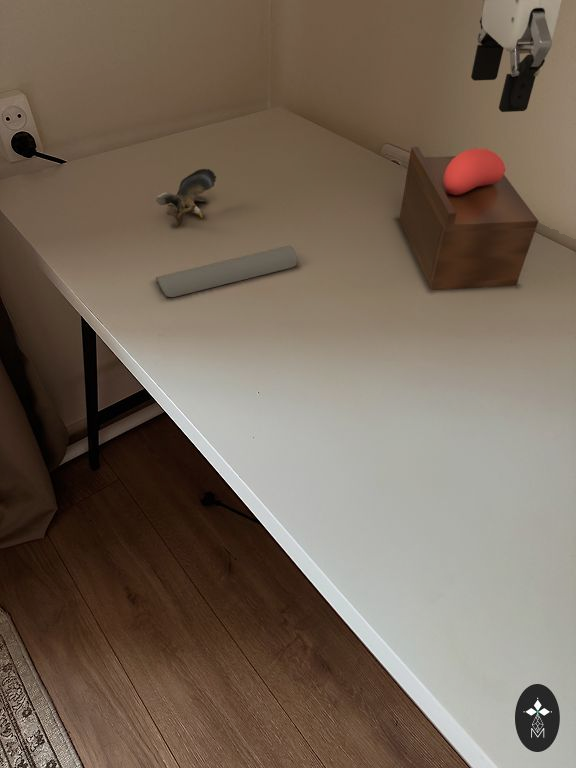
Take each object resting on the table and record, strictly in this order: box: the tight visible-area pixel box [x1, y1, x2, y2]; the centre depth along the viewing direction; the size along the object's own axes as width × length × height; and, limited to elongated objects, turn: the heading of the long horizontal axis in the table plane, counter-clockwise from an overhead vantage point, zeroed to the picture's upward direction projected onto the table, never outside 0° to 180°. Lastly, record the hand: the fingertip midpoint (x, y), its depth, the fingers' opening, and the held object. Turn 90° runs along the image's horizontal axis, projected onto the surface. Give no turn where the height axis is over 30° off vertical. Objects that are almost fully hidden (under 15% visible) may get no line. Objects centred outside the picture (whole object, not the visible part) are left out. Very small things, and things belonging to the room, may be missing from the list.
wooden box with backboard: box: [398, 146, 539, 291], centre depth 88 cm, size 12×18×12 cm, turn 7°
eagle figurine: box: [155, 168, 217, 228], centre depth 96 cm, size 8×7×9 cm
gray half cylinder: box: [155, 245, 298, 298], centre depth 86 cm, size 4×20×2 cm, turn 115°
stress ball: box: [443, 147, 506, 195], centre depth 84 cm, size 5×9×6 cm, turn 110°
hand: (497, 94), depth 77 cm, fingers open, 9 cm apart
